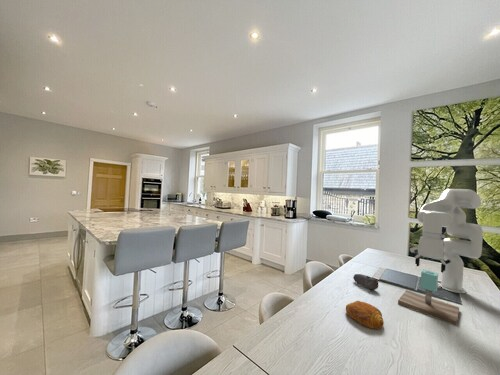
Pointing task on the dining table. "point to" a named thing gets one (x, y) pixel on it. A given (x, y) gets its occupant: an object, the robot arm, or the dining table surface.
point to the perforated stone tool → (366, 281)
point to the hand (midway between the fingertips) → (429, 268)
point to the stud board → (430, 306)
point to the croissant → (365, 314)
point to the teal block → (429, 280)
